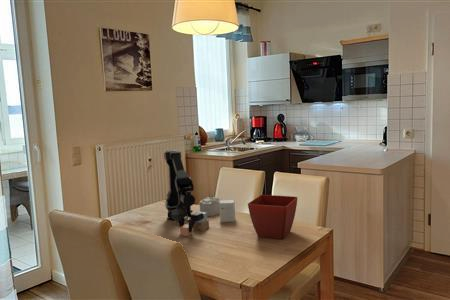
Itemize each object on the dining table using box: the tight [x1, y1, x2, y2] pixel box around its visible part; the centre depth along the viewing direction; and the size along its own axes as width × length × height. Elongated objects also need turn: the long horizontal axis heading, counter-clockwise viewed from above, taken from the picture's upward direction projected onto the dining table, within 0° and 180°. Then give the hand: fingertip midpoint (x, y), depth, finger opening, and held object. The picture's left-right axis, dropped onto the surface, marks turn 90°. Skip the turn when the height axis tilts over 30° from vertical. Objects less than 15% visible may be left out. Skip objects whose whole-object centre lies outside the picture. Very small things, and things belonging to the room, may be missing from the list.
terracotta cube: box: [179, 224, 194, 237], centre depth 197 cm, size 4×4×4 cm
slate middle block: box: [196, 211, 208, 223], centre depth 204 cm, size 5×5×4 cm
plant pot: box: [247, 194, 298, 240], centre depth 190 cm, size 19×19×17 cm
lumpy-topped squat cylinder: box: [199, 196, 223, 217], centre depth 231 cm, size 10×13×9 cm
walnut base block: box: [193, 219, 210, 232], centre depth 204 cm, size 6×6×4 cm
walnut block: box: [184, 217, 189, 225], centre depth 213 cm, size 4×4×4 cm
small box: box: [219, 199, 236, 223], centre depth 215 cm, size 8×6×10 cm
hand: (186, 231), depth 197 cm, fingers closed on terracotta cube, 4 cm apart
